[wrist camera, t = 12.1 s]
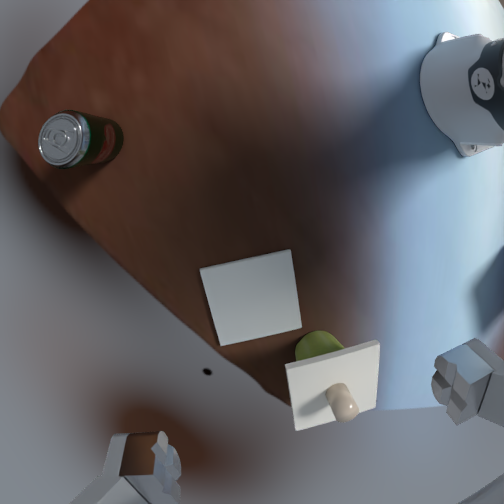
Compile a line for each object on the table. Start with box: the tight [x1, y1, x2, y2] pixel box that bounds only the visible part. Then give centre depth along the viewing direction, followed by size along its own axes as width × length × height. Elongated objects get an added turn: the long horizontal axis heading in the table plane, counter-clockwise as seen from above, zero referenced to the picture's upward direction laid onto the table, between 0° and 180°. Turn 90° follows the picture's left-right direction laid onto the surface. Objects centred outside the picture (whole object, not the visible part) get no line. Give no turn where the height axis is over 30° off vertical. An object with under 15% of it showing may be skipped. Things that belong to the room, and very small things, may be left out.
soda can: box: [38, 110, 123, 169], centre depth 27 cm, size 5×5×12 cm
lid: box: [285, 340, 380, 431], centre depth 34 cm, size 11×11×5 cm
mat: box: [200, 249, 302, 346], centre depth 41 cm, size 11×11×1 cm
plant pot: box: [295, 331, 345, 362], centre depth 40 cm, size 9×9×9 cm
